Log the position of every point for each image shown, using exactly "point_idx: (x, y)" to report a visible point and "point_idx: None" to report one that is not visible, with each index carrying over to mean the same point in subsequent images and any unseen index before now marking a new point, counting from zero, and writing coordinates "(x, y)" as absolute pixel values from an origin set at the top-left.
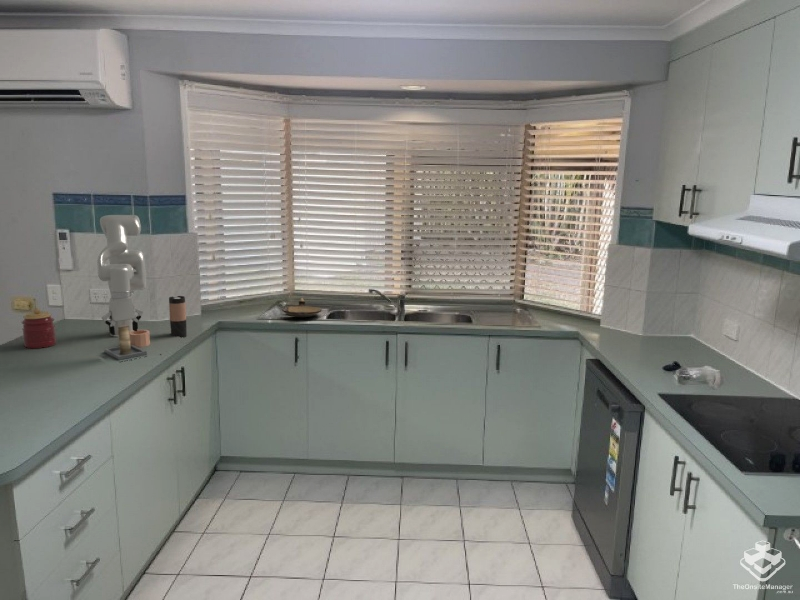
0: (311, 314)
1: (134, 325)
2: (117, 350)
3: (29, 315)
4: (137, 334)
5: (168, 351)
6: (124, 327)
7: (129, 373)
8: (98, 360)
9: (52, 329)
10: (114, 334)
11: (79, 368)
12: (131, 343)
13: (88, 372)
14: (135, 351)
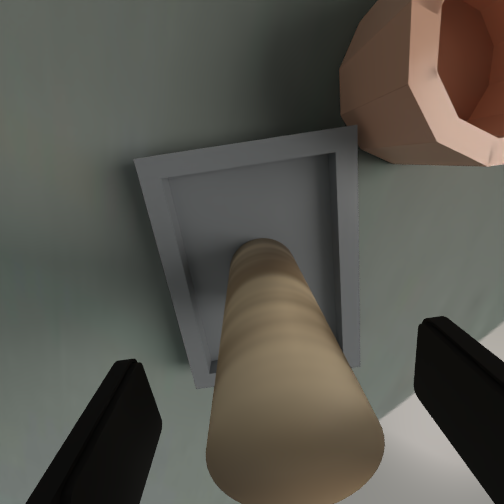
0: None
1: (475, 452)
2: (232, 174)
3: None
4: (467, 148)
5: (481, 307)
6: (295, 489)
7: (208, 500)
8: (103, 273)
9: None
10: (155, 434)
11: (8, 359)
12: (363, 115)
13: (55, 428)
14: (324, 268)
